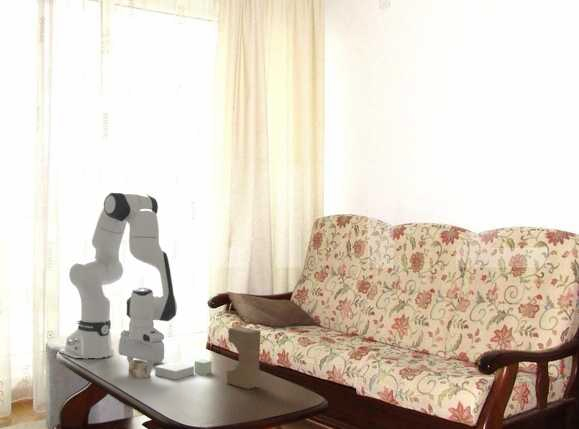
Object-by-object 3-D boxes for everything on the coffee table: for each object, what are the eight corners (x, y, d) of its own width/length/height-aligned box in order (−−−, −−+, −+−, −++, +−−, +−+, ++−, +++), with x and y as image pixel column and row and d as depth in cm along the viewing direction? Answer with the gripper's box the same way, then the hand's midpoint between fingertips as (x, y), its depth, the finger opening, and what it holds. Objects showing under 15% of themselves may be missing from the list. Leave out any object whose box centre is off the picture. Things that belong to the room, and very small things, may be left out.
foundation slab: (155, 374, 268) (155, 366, 268) (173, 369, 277) (174, 361, 277) (175, 379, 263) (175, 371, 263) (193, 374, 271) (194, 366, 271)
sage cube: (194, 373, 273) (194, 361, 273) (202, 370, 277) (202, 359, 277) (203, 375, 271) (203, 363, 271) (211, 372, 274) (211, 361, 274)
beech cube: (128, 376, 265) (129, 361, 265) (139, 373, 270) (140, 358, 270) (139, 378, 262) (139, 363, 262) (150, 375, 267) (150, 361, 267)
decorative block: (225, 383, 261) (227, 327, 260) (237, 380, 265) (239, 325, 264) (247, 390, 253) (249, 332, 252) (259, 387, 257) (261, 330, 257)
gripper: (114, 330, 269) (113, 367, 269) (155, 338, 257) (153, 377, 258) (127, 327, 274) (126, 364, 274) (167, 335, 262) (166, 373, 263)
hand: (140, 370), depth 266 cm, fingers open, 7 cm apart
